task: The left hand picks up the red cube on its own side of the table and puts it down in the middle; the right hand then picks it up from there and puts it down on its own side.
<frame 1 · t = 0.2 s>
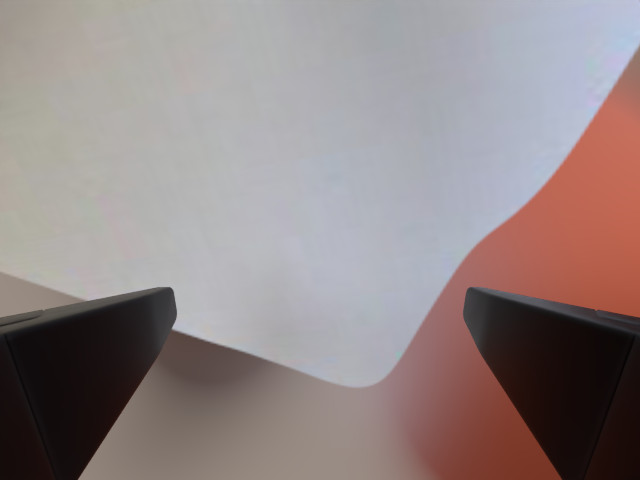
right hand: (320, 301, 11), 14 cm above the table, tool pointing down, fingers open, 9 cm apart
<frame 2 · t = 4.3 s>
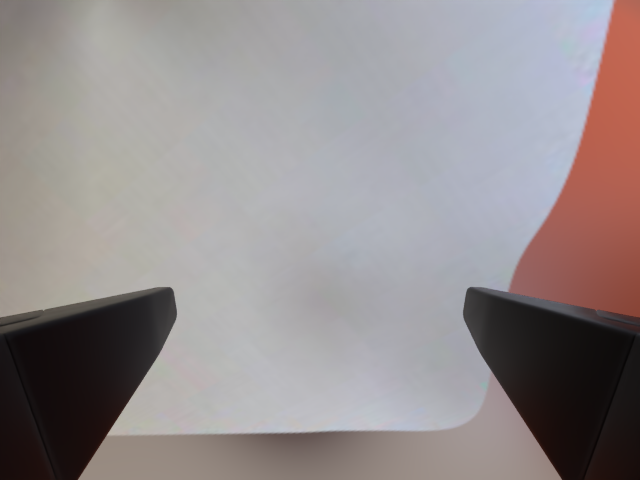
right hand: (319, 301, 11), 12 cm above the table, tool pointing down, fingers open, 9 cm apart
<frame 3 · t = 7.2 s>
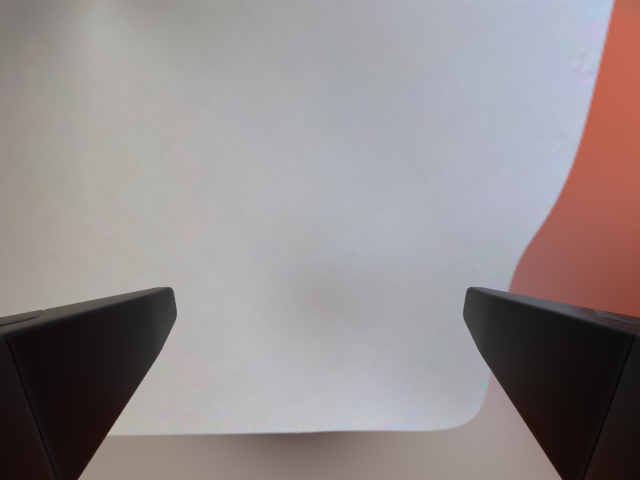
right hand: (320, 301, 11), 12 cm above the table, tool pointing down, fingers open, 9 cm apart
when the left hand's fingers open (2 cm above the table, at t = 10.6 s): red cube stays where it is, on the table.
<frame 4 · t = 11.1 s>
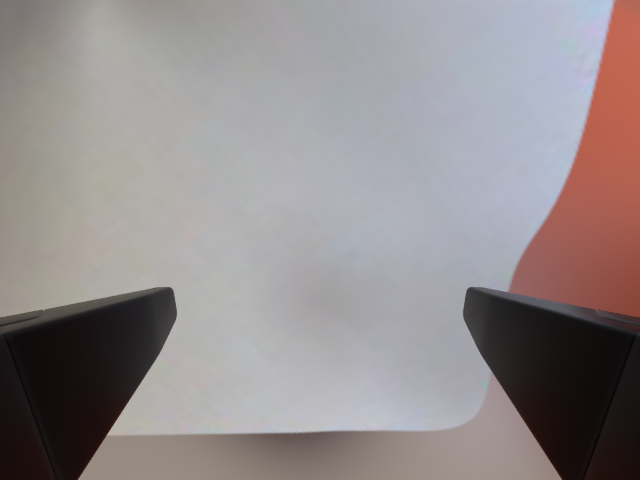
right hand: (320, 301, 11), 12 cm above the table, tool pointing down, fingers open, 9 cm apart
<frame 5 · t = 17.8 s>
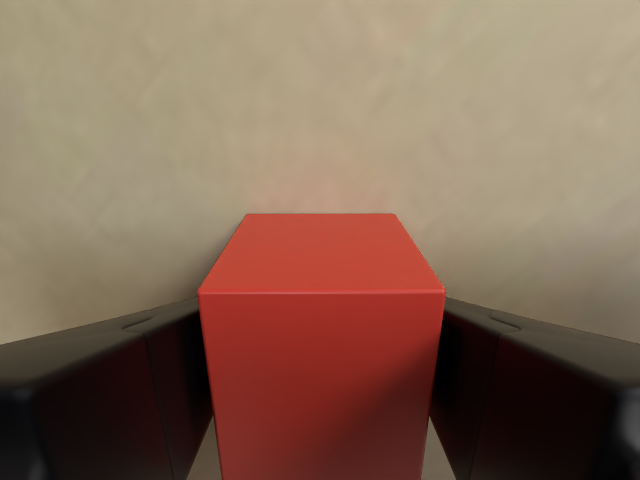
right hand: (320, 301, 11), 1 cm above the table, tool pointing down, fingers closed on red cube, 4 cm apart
red cube: (320, 286, 12), on the table, touching right hand
when the right hand's fingers open (2 cm above the table, at t = 24.4 s): red cube stays where it is, on the table.
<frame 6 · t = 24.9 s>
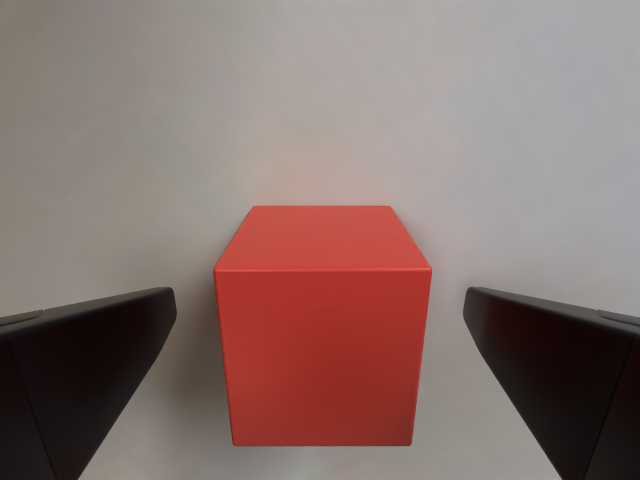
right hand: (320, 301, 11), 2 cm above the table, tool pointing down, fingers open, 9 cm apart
red cube: (321, 273, 13), on the table
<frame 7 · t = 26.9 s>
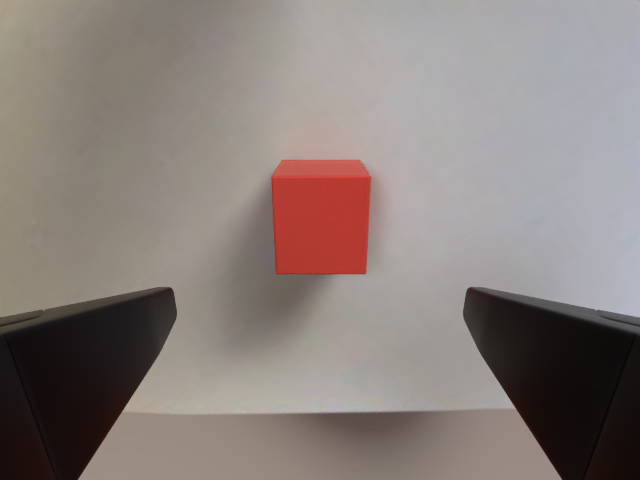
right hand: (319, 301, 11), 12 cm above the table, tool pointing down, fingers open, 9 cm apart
red cube: (320, 201, 22), on the table
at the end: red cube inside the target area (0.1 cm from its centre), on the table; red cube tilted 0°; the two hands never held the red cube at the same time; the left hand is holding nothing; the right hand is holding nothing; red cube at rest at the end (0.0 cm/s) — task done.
